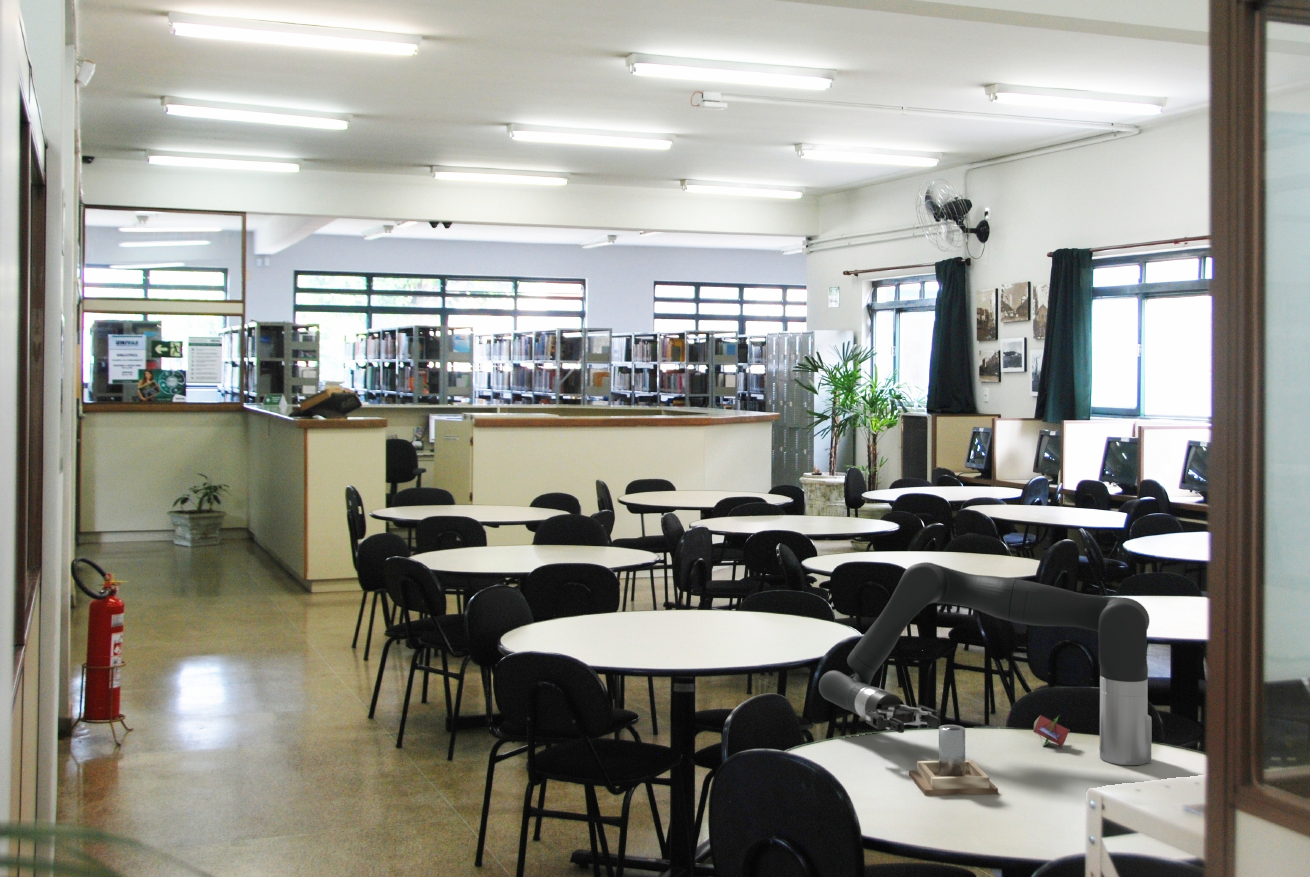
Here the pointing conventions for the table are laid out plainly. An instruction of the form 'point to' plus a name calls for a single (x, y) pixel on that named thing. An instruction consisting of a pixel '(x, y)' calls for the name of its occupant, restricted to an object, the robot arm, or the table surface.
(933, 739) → the table surface
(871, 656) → the robot arm
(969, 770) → the wooden tray
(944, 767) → the steel tube
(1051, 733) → the geometric puzzle
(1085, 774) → the table surface
